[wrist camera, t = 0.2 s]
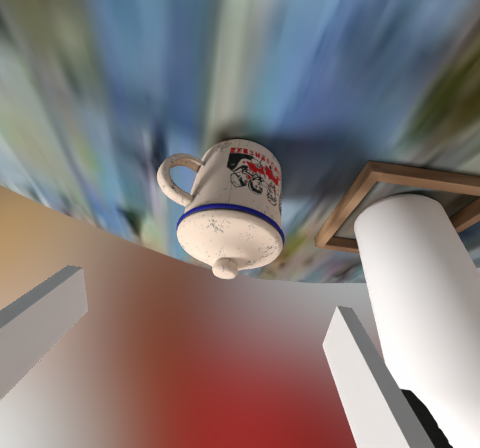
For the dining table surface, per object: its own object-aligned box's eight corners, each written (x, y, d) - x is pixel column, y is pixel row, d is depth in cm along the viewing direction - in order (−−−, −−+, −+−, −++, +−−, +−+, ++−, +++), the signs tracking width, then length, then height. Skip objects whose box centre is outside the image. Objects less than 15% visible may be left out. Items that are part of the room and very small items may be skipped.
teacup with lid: (302, 172, 23) (310, 280, 16) (245, 211, 29) (234, 301, 22) (203, 89, 17) (154, 200, 11) (159, 158, 23) (109, 256, 17)
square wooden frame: (368, 160, 21) (372, 171, 20) (514, 182, 21) (524, 193, 20) (314, 238, 32) (315, 247, 31) (408, 251, 32) (412, 261, 31)
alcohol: (453, 215, 25) (825, 865, 8) (375, 243, 32) (491, 646, 14) (418, 176, 22) (979, 1245, 4) (337, 216, 28) (432, 721, 10)
